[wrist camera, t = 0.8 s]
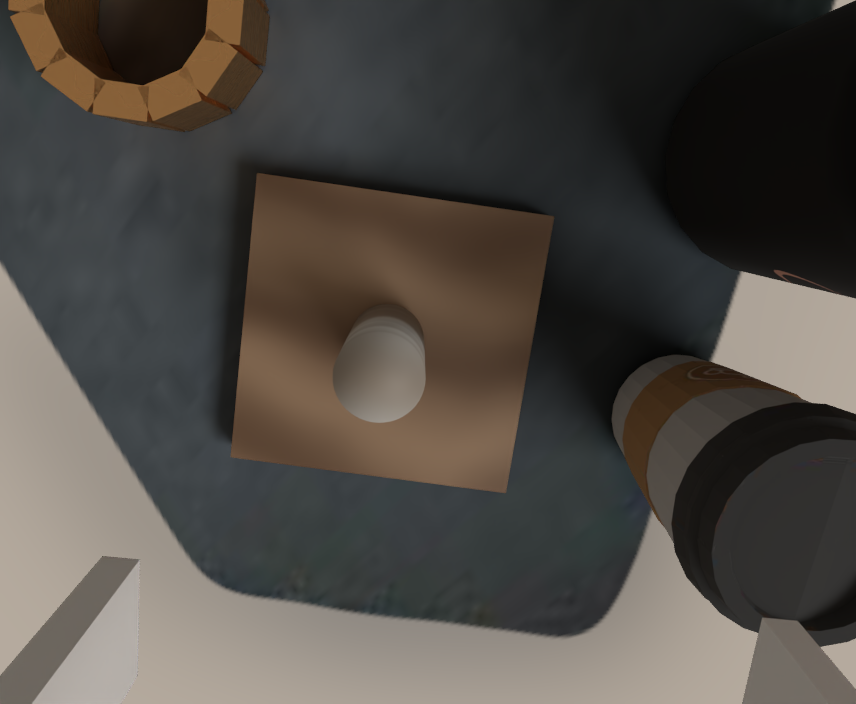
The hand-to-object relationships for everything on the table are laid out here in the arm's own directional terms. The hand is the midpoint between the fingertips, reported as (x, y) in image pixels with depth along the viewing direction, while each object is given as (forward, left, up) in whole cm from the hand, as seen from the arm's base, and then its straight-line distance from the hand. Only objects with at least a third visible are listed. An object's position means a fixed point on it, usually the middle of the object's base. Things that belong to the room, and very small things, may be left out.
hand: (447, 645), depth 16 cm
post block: (-2, -2, -23) cm, 23 cm away
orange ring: (-15, -14, -23) cm, 31 cm away
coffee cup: (0, +13, -23) cm, 26 cm away
